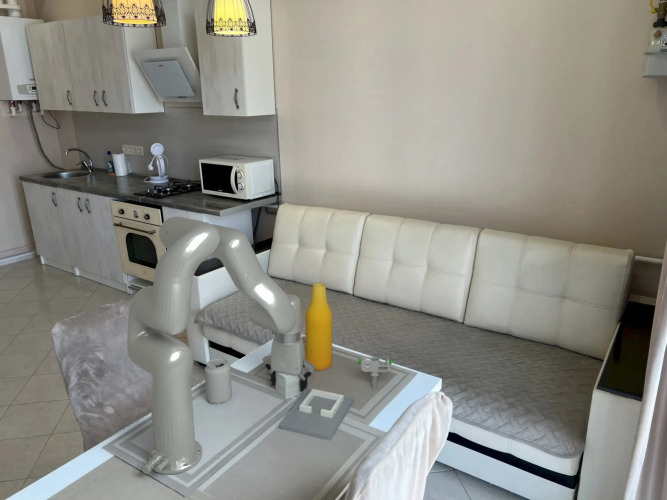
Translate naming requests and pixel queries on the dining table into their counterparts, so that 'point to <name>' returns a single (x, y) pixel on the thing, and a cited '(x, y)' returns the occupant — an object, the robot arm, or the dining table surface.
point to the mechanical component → (374, 367)
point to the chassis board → (317, 414)
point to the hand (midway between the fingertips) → (288, 386)
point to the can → (218, 380)
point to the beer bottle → (319, 329)
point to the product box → (287, 384)
